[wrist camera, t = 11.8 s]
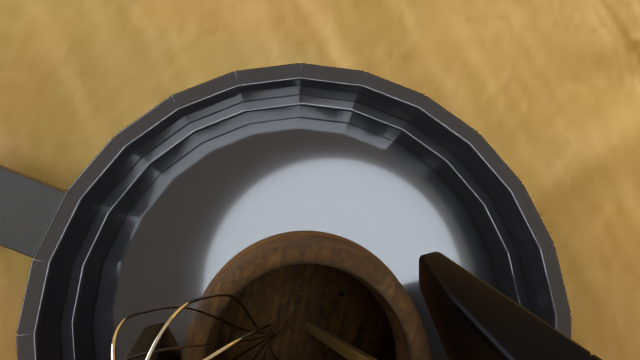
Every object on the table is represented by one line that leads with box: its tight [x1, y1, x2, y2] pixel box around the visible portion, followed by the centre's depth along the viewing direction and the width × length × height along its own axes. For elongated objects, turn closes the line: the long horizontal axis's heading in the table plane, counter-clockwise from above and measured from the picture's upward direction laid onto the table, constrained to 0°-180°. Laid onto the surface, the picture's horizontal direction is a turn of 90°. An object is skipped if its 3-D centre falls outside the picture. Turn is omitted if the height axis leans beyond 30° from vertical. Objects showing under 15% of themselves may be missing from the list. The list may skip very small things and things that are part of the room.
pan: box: [16, 63, 571, 360], centre depth 16 cm, size 17×17×4 cm
